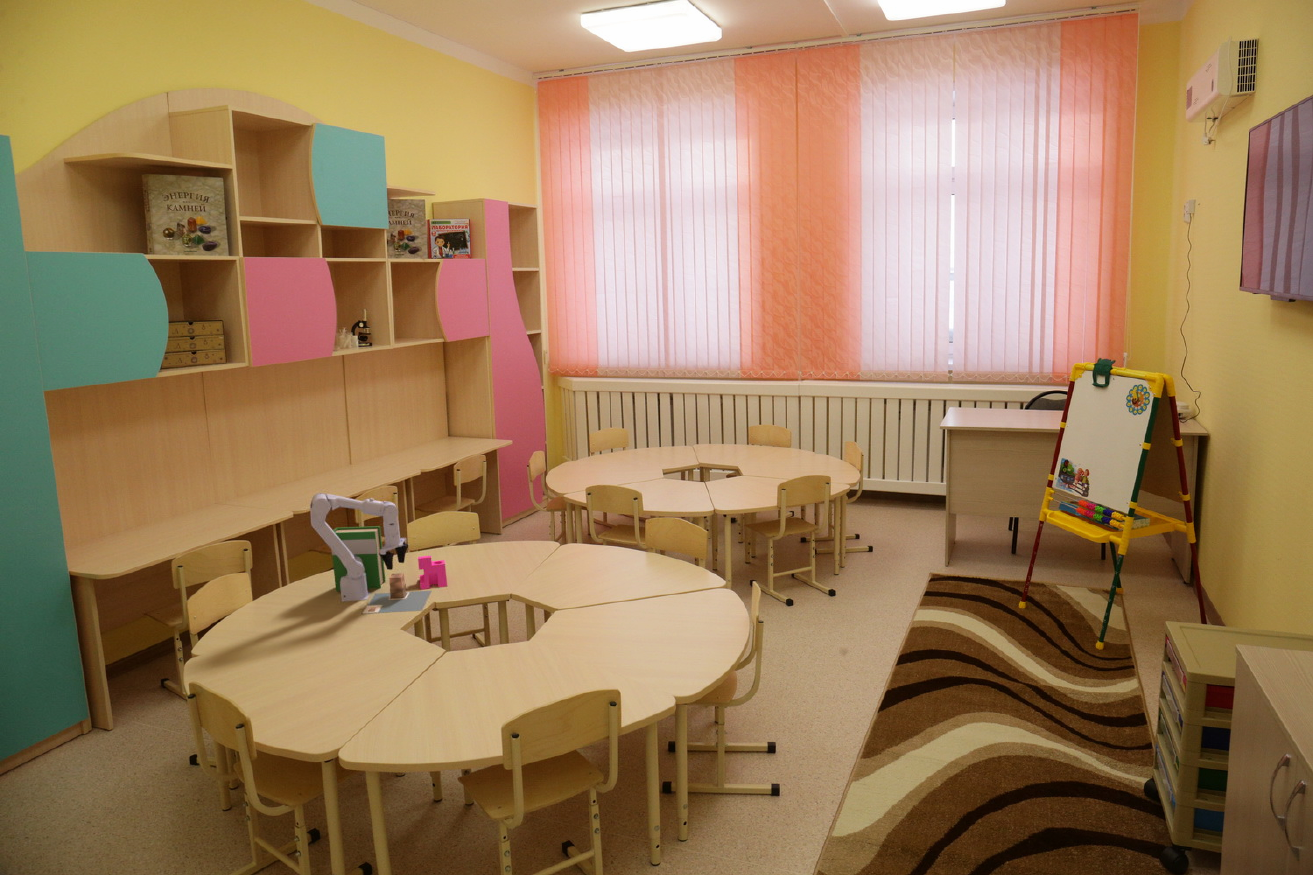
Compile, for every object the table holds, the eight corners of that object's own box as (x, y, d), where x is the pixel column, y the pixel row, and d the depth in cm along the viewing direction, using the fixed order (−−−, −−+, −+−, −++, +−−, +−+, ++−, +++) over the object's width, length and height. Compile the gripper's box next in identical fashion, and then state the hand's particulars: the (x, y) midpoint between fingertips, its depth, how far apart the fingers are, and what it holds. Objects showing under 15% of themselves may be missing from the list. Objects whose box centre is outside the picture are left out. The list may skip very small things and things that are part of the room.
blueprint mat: (361, 615, 329) (361, 613, 329) (375, 594, 349) (375, 593, 349) (422, 611, 330) (421, 610, 330) (431, 591, 350) (431, 590, 350)
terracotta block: (390, 588, 342) (389, 577, 341) (393, 584, 346) (392, 573, 345) (402, 588, 342) (401, 577, 341) (404, 584, 346) (403, 573, 346)
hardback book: (385, 582, 362) (380, 526, 357) (380, 589, 354) (374, 531, 350) (342, 584, 362) (336, 527, 357) (336, 590, 354) (329, 533, 350)
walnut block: (390, 598, 343) (389, 589, 342) (393, 593, 348) (392, 584, 347) (403, 598, 343) (402, 588, 342) (406, 593, 348) (405, 583, 347)
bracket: (420, 580, 363) (417, 556, 361) (445, 577, 365) (443, 553, 363) (420, 591, 351) (418, 566, 349) (447, 587, 354) (445, 563, 352)
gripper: (389, 539, 339) (393, 573, 342) (411, 527, 352) (415, 560, 355) (373, 538, 341) (377, 571, 344) (396, 526, 355) (400, 559, 358)
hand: (395, 565), depth 350 cm, fingers open, 7 cm apart
